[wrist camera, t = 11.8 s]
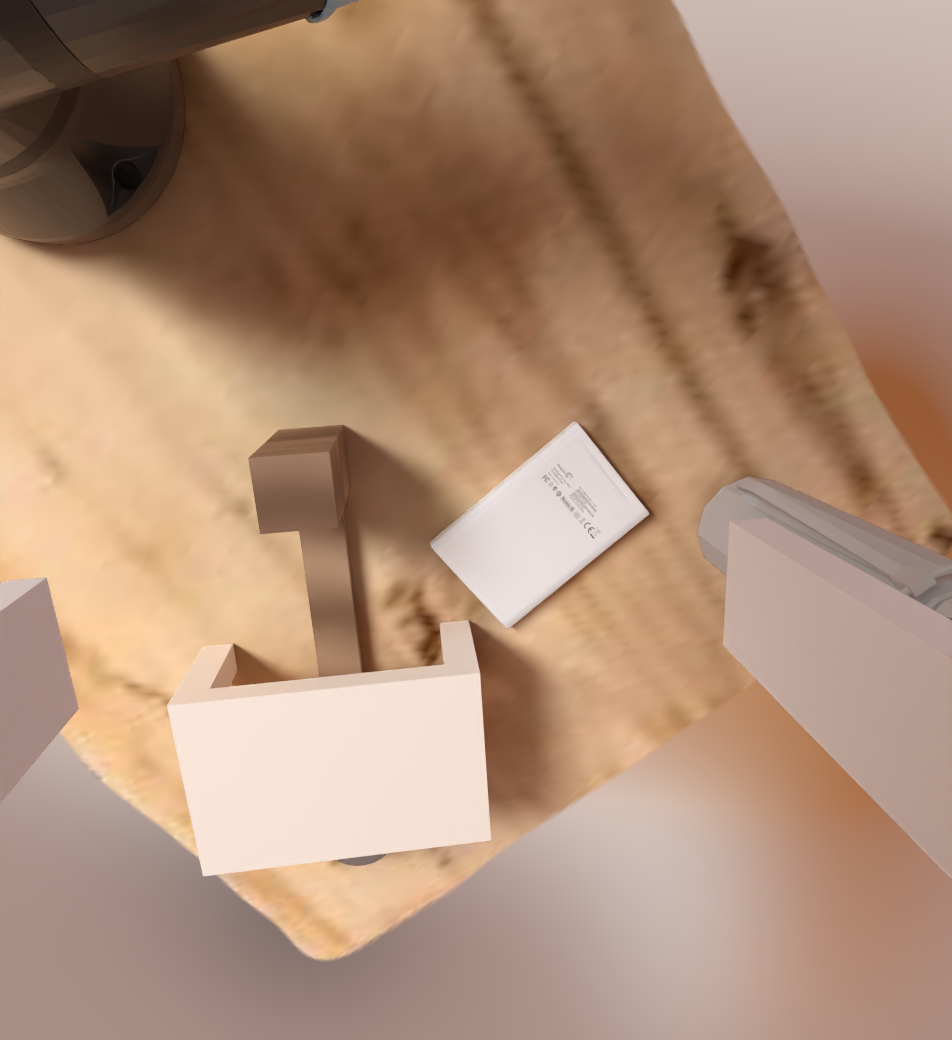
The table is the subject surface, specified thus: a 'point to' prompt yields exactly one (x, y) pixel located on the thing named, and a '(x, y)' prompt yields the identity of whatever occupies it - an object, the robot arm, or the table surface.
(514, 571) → the external hard drive
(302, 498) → the walnut paddle
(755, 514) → the water bottle
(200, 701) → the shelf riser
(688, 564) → the table surface
